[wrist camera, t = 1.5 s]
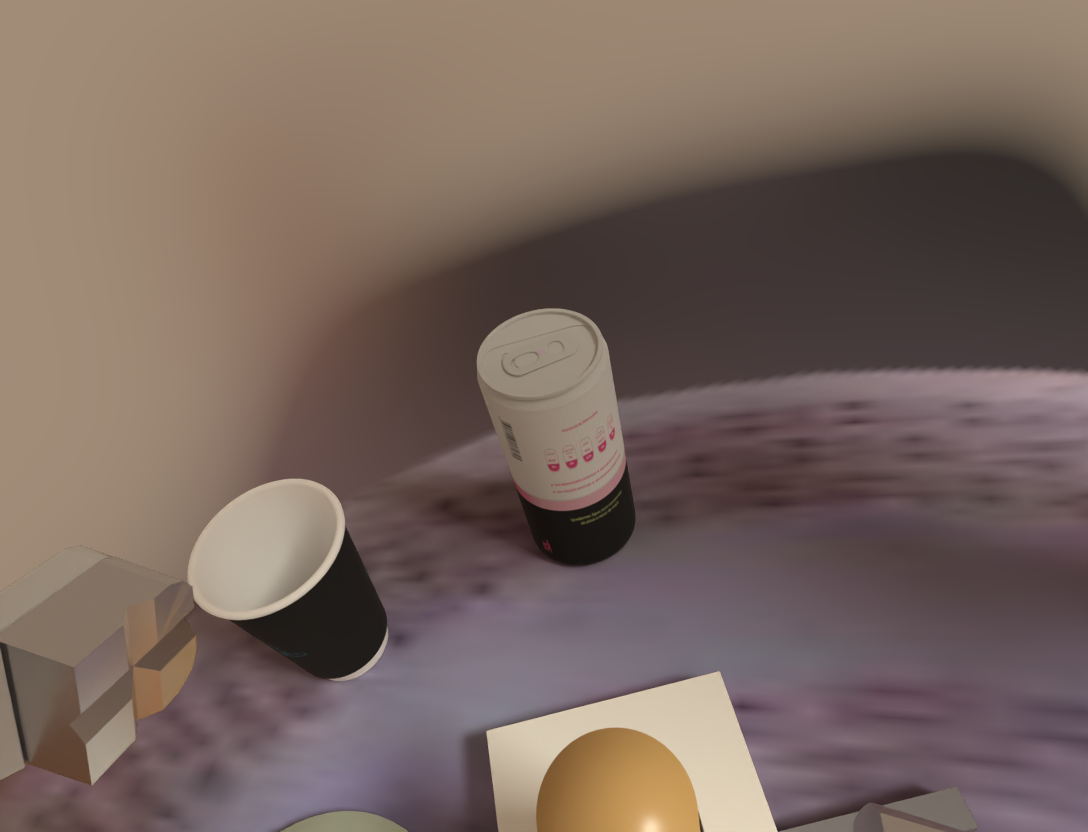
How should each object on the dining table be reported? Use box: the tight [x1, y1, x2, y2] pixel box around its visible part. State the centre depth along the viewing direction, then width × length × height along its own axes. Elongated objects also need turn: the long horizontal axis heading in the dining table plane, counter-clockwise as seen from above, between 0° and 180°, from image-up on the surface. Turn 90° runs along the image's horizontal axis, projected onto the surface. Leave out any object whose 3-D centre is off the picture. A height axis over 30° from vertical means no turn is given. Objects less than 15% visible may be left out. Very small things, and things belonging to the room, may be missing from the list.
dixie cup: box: [187, 479, 388, 681], centre depth 39 cm, size 8×8×11 cm
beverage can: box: [477, 309, 635, 566], centre depth 41 cm, size 6×7×15 cm
